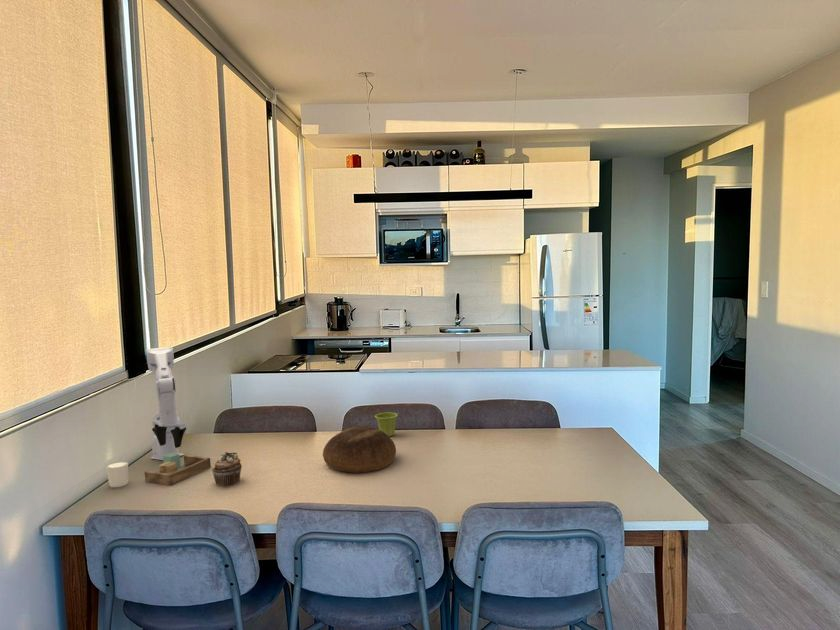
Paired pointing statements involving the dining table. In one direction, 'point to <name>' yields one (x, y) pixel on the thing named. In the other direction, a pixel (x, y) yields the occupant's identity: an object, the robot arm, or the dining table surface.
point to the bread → (359, 450)
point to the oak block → (168, 468)
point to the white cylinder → (117, 474)
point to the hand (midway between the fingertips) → (170, 446)
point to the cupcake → (227, 470)
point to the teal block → (172, 458)
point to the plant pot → (387, 422)
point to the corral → (180, 471)
